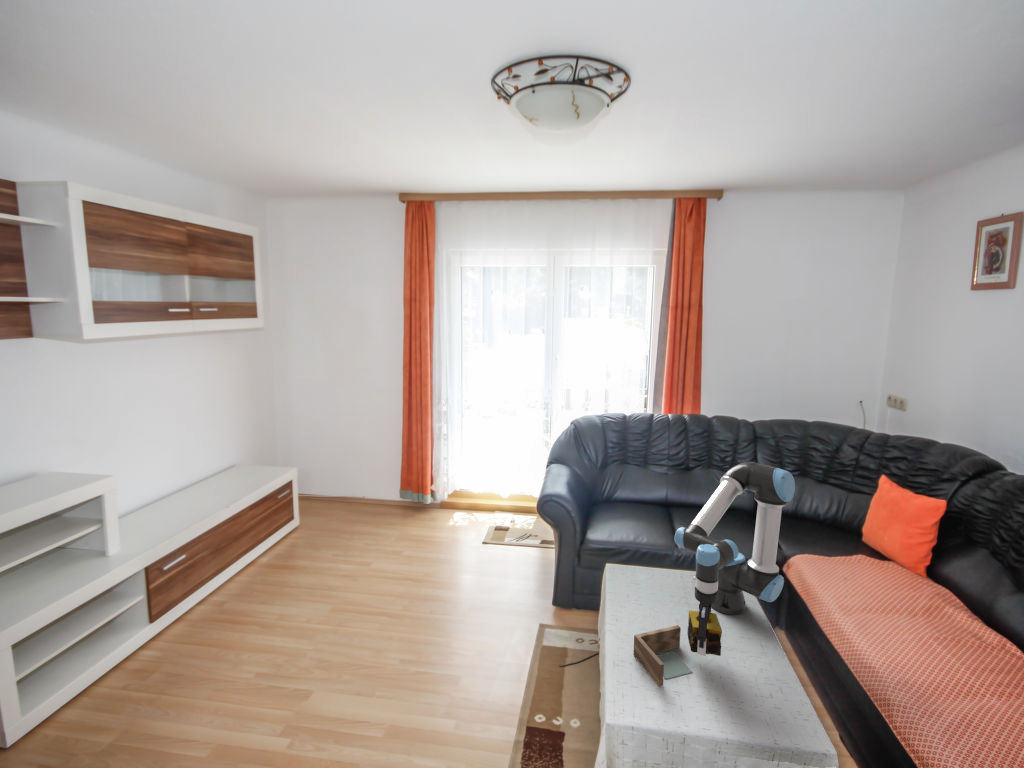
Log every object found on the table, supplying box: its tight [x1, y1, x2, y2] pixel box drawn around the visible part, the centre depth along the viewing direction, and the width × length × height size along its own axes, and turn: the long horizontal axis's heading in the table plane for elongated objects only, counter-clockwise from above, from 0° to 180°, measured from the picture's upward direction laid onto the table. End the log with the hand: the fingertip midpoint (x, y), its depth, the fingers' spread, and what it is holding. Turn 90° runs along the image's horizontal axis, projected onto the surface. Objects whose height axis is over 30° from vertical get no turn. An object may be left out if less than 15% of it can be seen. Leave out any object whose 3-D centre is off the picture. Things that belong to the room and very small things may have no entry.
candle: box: [687, 610, 723, 657], centre depth 182 cm, size 10×10×10 cm
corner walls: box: [632, 625, 682, 687], centre depth 183 cm, size 19×16×8 cm
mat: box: [656, 651, 694, 680], centre depth 183 cm, size 11×11×1 cm
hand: (703, 643), depth 183 cm, fingers closed on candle, 11 cm apart
